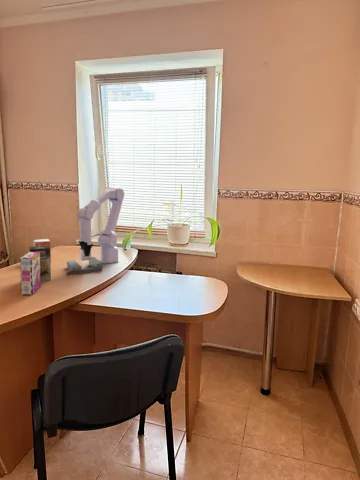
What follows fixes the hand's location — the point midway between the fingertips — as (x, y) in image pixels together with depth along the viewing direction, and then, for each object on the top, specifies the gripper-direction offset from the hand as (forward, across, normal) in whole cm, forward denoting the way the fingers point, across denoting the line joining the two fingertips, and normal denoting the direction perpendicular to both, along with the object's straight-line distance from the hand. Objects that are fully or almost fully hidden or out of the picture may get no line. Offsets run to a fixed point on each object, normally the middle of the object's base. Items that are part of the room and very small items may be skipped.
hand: (85, 255), depth 181 cm
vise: (+7, +2, -3) cm, 8 cm away
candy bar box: (+8, +24, -31) cm, 40 cm away
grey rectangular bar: (+7, +2, -7) cm, 10 cm away
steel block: (+2, 0, 0) cm, 2 cm away
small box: (+8, -20, -19) cm, 29 cm away
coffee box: (+8, +10, -25) cm, 28 cm away
